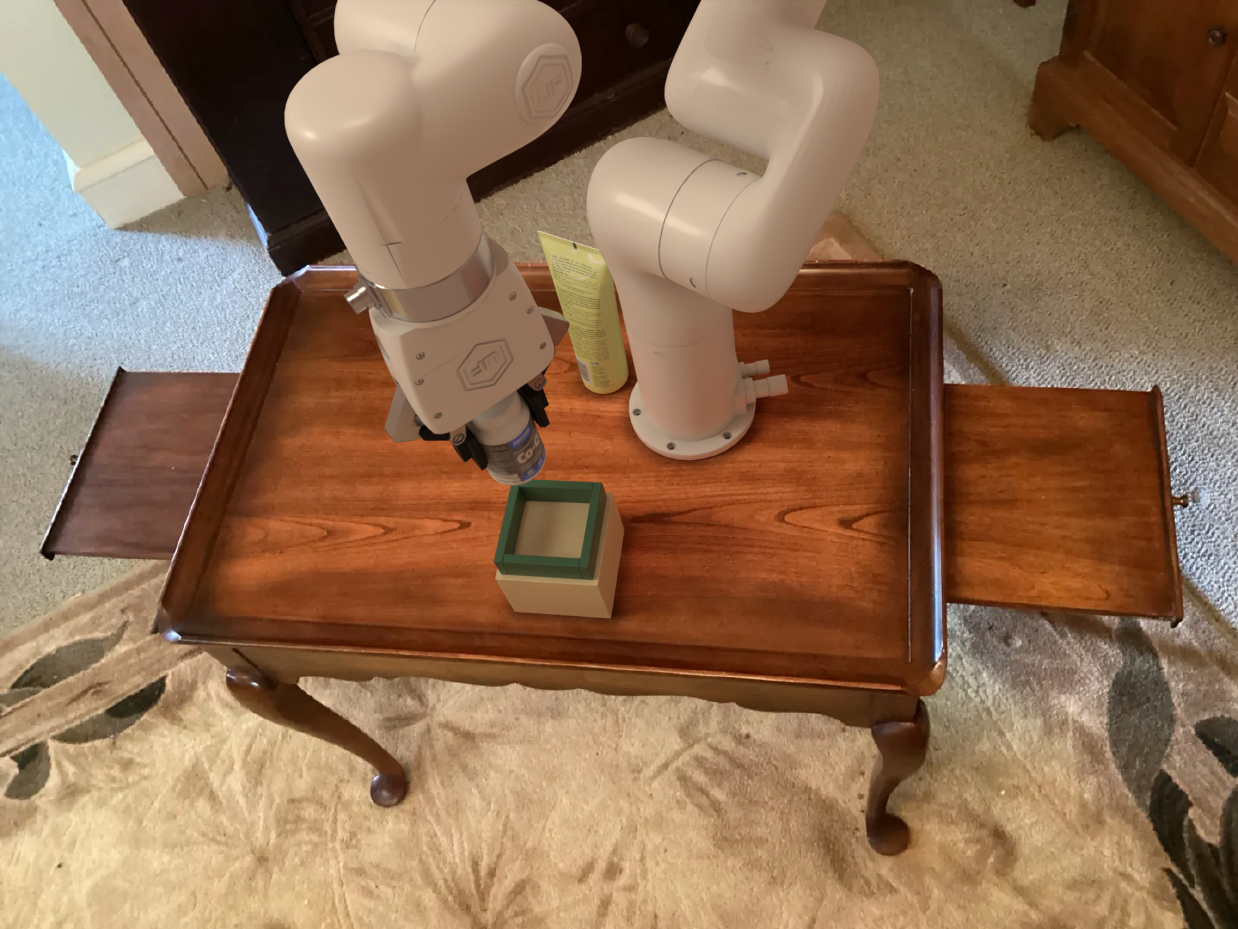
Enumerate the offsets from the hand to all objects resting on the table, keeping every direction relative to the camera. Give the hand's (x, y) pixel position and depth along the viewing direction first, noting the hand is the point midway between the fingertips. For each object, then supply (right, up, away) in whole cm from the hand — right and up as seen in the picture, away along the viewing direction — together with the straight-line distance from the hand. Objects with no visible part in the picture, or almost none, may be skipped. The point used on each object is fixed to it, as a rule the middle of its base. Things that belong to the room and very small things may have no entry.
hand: (505, 434), depth 71 cm
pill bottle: (+1, -2, +3) cm, 4 cm away
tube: (+7, +7, +29) cm, 31 cm away
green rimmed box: (+4, -12, +18) cm, 22 cm away
